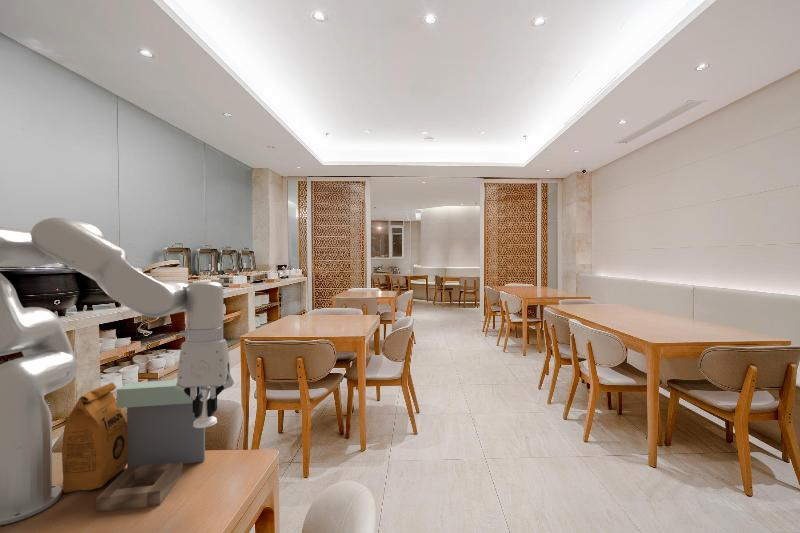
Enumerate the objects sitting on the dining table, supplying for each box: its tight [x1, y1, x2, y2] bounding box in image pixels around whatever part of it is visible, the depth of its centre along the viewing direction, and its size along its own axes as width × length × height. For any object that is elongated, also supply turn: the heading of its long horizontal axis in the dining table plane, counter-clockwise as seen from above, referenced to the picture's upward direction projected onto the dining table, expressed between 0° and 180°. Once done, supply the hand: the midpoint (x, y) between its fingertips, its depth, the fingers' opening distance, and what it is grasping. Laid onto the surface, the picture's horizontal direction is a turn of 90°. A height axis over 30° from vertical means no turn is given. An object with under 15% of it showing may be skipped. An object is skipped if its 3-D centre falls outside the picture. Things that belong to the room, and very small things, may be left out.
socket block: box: [95, 462, 184, 513], centre depth 83 cm, size 12×12×3 cm
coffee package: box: [61, 381, 127, 494], centre depth 88 cm, size 10×12×22 cm
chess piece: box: [193, 387, 218, 429], centre depth 85 cm, size 5×5×10 cm
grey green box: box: [116, 379, 206, 469], centre depth 93 cm, size 18×6×22 cm, turn 100°
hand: (205, 414), depth 85 cm, fingers closed on chess piece
